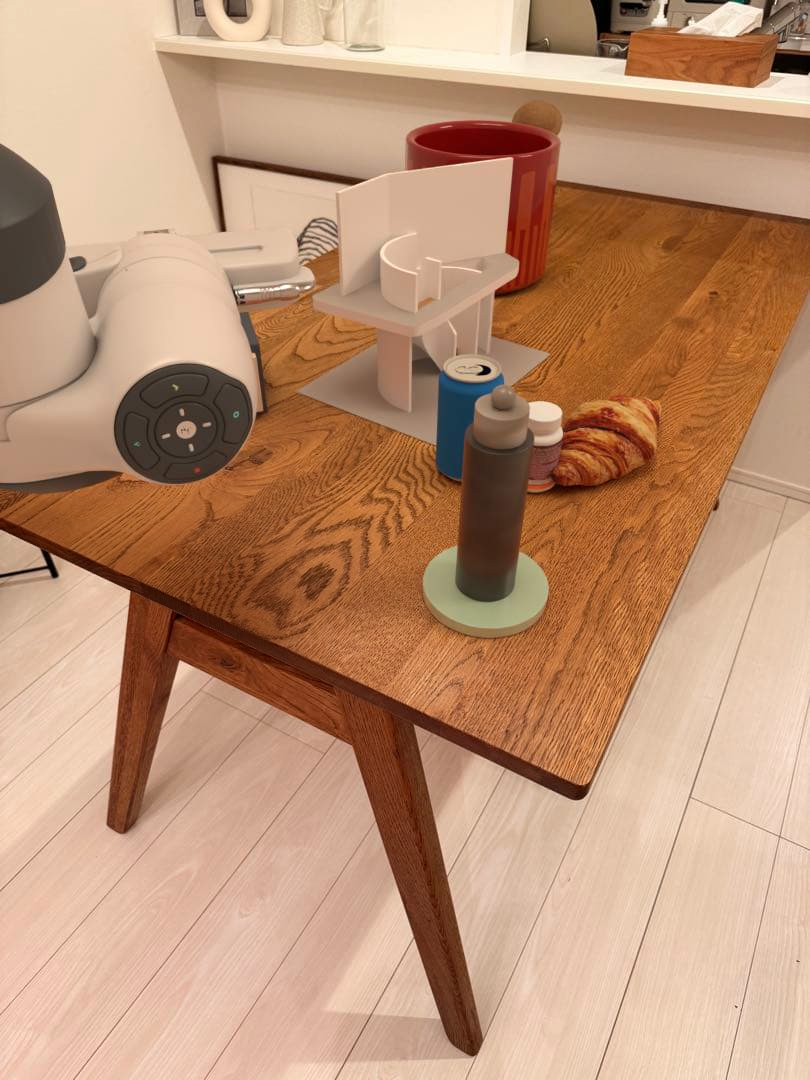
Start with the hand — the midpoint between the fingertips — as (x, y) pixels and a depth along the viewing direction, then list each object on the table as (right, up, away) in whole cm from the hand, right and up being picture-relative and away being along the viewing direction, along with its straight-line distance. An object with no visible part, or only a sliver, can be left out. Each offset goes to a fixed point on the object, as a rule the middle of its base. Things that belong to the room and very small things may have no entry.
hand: (158, 240), depth 61 cm
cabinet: (-5, -5, +34) cm, 35 cm away
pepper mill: (+27, -28, +6) cm, 39 cm away
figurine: (+43, +38, +87) cm, 105 cm away
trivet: (+27, -29, +7) cm, 40 cm away
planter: (+31, +20, +65) cm, 75 cm away
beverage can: (+26, -16, +21) cm, 38 cm away
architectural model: (+23, -2, +38) cm, 45 cm away
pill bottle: (+33, -18, +20) cm, 42 cm away
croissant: (+42, -15, +24) cm, 51 cm away
